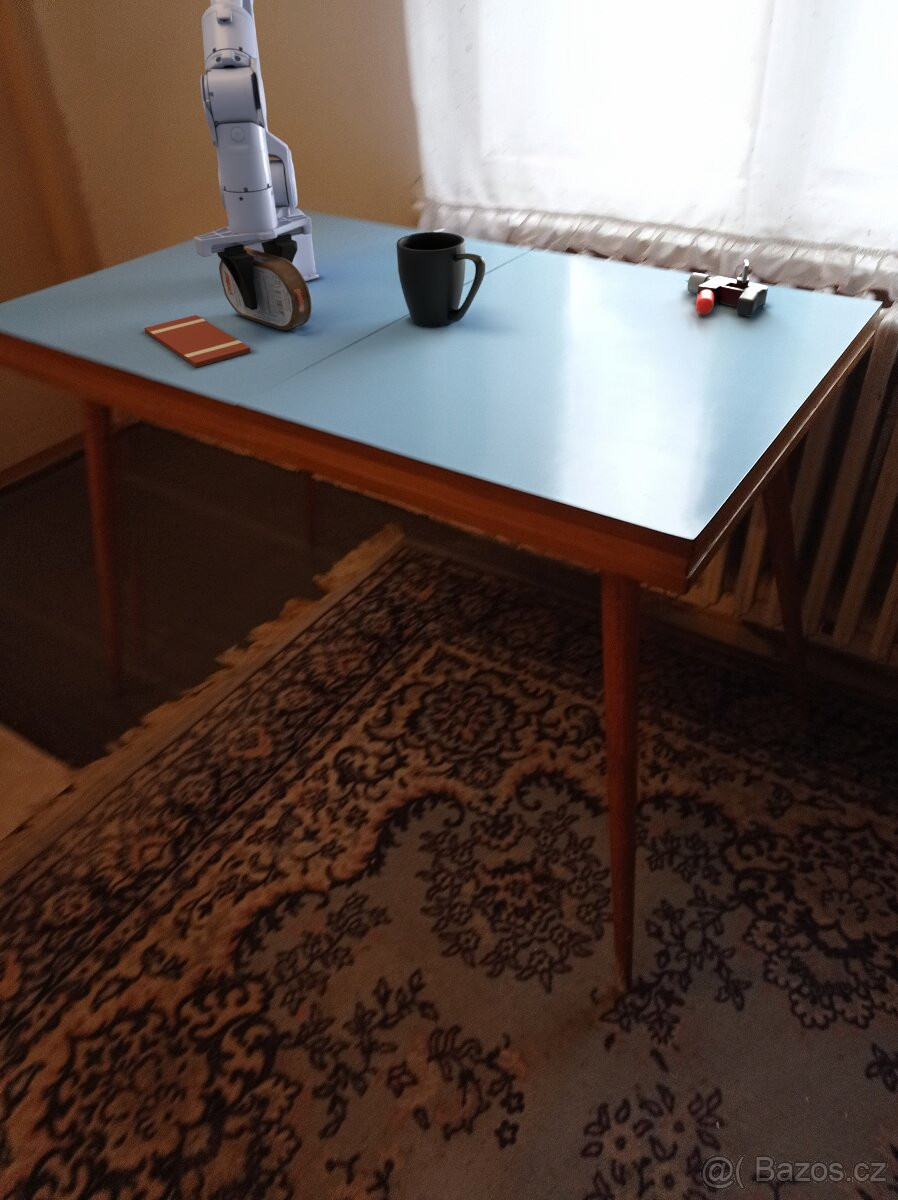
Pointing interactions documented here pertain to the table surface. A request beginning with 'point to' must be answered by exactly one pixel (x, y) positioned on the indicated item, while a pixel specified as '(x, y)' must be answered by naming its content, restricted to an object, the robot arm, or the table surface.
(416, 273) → the mug
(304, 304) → the tin
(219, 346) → the towel
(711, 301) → the red and grey device
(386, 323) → the table surface
